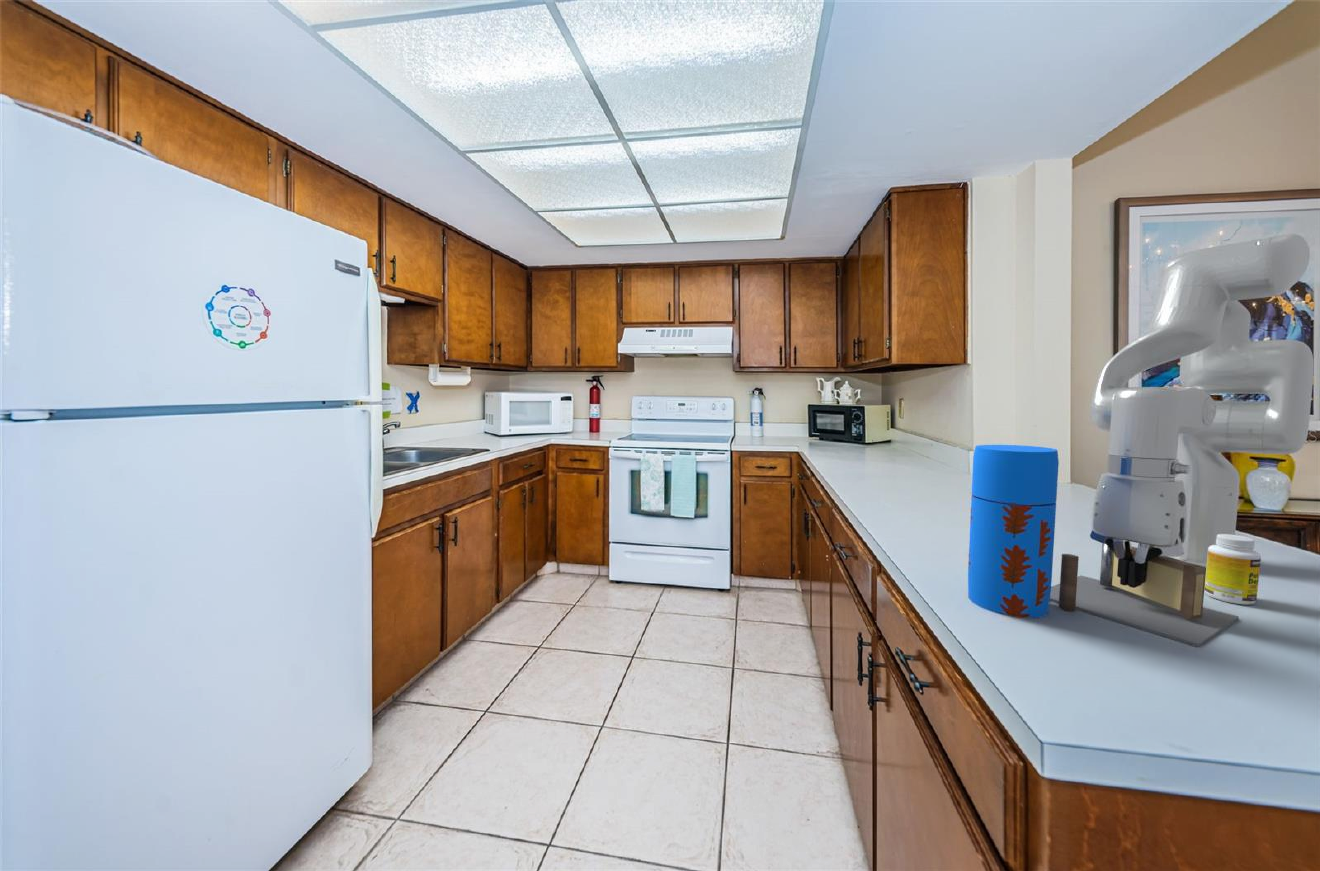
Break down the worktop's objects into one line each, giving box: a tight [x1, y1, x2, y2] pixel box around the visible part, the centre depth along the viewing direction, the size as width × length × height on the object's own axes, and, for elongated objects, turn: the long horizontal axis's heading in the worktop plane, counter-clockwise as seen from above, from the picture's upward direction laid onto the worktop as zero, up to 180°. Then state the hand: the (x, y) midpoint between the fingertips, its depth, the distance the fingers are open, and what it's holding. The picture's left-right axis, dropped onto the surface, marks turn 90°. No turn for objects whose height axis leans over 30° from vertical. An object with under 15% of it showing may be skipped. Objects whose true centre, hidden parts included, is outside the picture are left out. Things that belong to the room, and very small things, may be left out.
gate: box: [1099, 543, 1206, 619], centre depth 77 cm, size 14×2×8 cm, turn 7°
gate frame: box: [1049, 553, 1239, 648], centre depth 76 cm, size 18×19×8 cm
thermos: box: [967, 444, 1060, 619], centre depth 78 cm, size 11×11×25 cm
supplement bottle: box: [1204, 534, 1262, 606], centre depth 79 cm, size 6×6×10 cm
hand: (1131, 584), depth 77 cm, fingers closed
